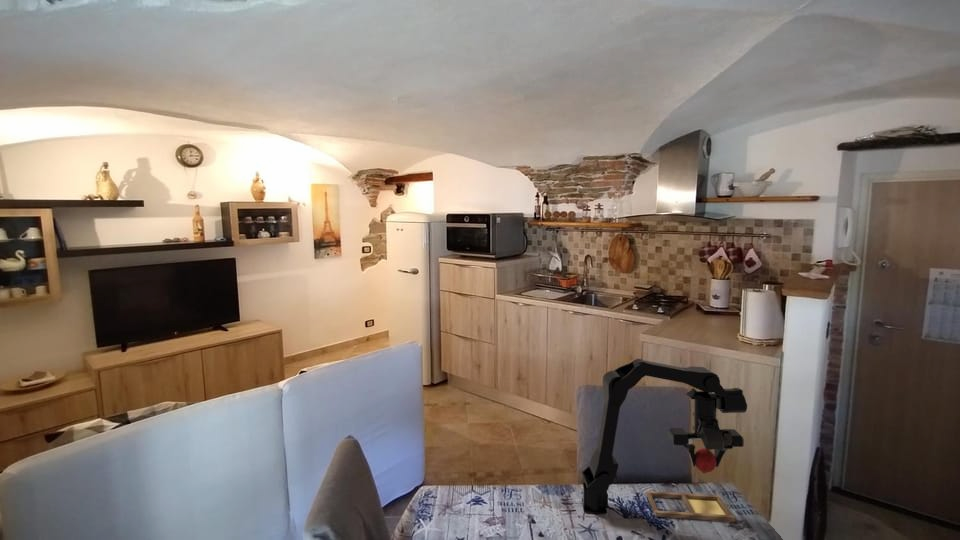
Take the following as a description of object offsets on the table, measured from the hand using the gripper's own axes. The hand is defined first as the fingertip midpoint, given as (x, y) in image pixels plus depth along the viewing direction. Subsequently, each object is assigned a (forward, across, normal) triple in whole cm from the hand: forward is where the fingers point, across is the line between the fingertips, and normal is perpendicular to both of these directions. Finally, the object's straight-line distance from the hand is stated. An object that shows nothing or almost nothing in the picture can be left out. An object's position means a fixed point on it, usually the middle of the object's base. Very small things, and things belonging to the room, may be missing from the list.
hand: (705, 466), depth 131 cm
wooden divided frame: (+12, -5, 0) cm, 13 cm away
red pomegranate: (+2, 0, 0) cm, 2 cm away
